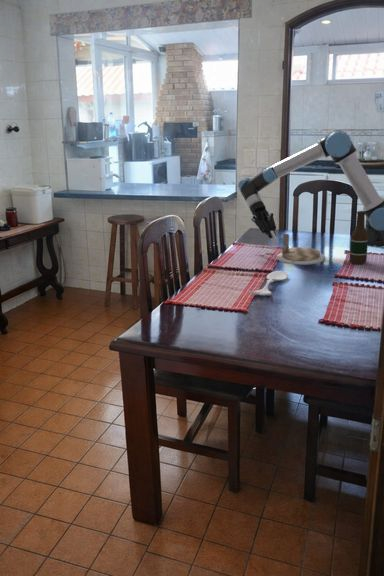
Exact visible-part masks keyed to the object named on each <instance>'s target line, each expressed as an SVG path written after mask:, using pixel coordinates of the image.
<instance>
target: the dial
mask: <svg viewBox="0 0 384 576" xmlns="http://www.w3.org/2000/svg"><path fill="white" fill-rule="evenodd" d="M281 246H282V249H281V253H282V257H283V258H285V259H288V260H294V261H310V260H315V259H318V258H319V257H320V253H321V251H320V250H318V249H317V248H311V247H302V246H300V247H299V246H298V247H289V246H290V234H289V233H282V245H281Z"/></svg>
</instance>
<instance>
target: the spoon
mask: <svg viewBox="0 0 384 576" xmlns="http://www.w3.org/2000/svg"><path fill="white" fill-rule="evenodd" d="M265 278H266V279H267V280H266V282H265V283H266V284H265V285H264V287H263V288H261V289H257V290H249V291H248V294H249V295H250V294H251V295H255V296H261V297H262V296H263V297H265V296H269V297H270V296H271V295H272V291H270V290H269V286H270V284H272V283H274V282H281V281H282V282H283V281H285V280H286V279H288V278H289V274H288V272H285V271H284V270H275V271H272V272H269V273H268V274H267V275H266V277H265Z"/></svg>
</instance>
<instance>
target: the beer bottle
mask: <svg viewBox="0 0 384 576" xmlns="http://www.w3.org/2000/svg"><path fill="white" fill-rule="evenodd" d="M356 214H357V216H356V224H355V227H354V230H353V231H352V233H351V235H350V246H349V263H350V262H351V264H352V263H353V265H359V264H360V265H365V264H366V263H367V260H368V259H367V258H368V247H369V245H368V234H367V231H366V230H365V224H366V216H365V212H364V211H363V210H357V212H356Z"/></svg>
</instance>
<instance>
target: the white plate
mask: <svg viewBox="0 0 384 576" xmlns="http://www.w3.org/2000/svg"><path fill="white" fill-rule="evenodd" d="M277 258H278V260H279V261H278V260H277V261H278V262H281V263H283V264H288V265H294V266H295V265H296V266H308V265H309V266H311V265H317V264H321V263H323V262H324V261H325V260H326V256H325V255H324V254H323V253H321V252H320V257H319V258H318V259H315V260H310V261H294V260H288V259H285V258H283V257H282V252H280V253H278V254H277V255H276V259H277Z"/></svg>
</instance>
